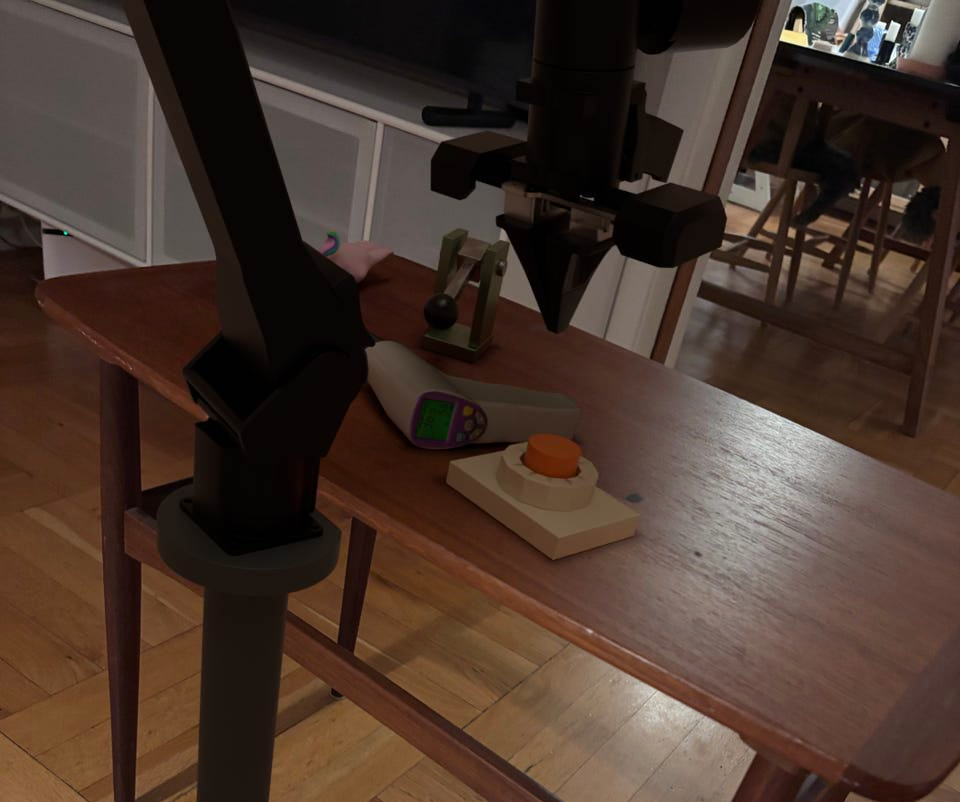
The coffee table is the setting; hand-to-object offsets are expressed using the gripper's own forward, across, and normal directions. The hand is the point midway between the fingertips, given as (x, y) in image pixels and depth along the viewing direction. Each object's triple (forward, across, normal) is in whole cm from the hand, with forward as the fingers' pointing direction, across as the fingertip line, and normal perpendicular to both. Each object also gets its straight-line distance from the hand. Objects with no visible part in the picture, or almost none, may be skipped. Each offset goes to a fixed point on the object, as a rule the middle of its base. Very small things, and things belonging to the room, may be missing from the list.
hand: (556, 330), depth 64 cm
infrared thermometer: (+12, +10, -3) cm, 16 cm away
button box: (+11, -3, +4) cm, 12 cm away
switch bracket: (+13, +22, -14) cm, 29 cm away
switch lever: (+7, +20, -12) cm, 25 cm away
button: (+8, -3, +3) cm, 9 cm away
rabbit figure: (+12, +39, -14) cm, 43 cm away
